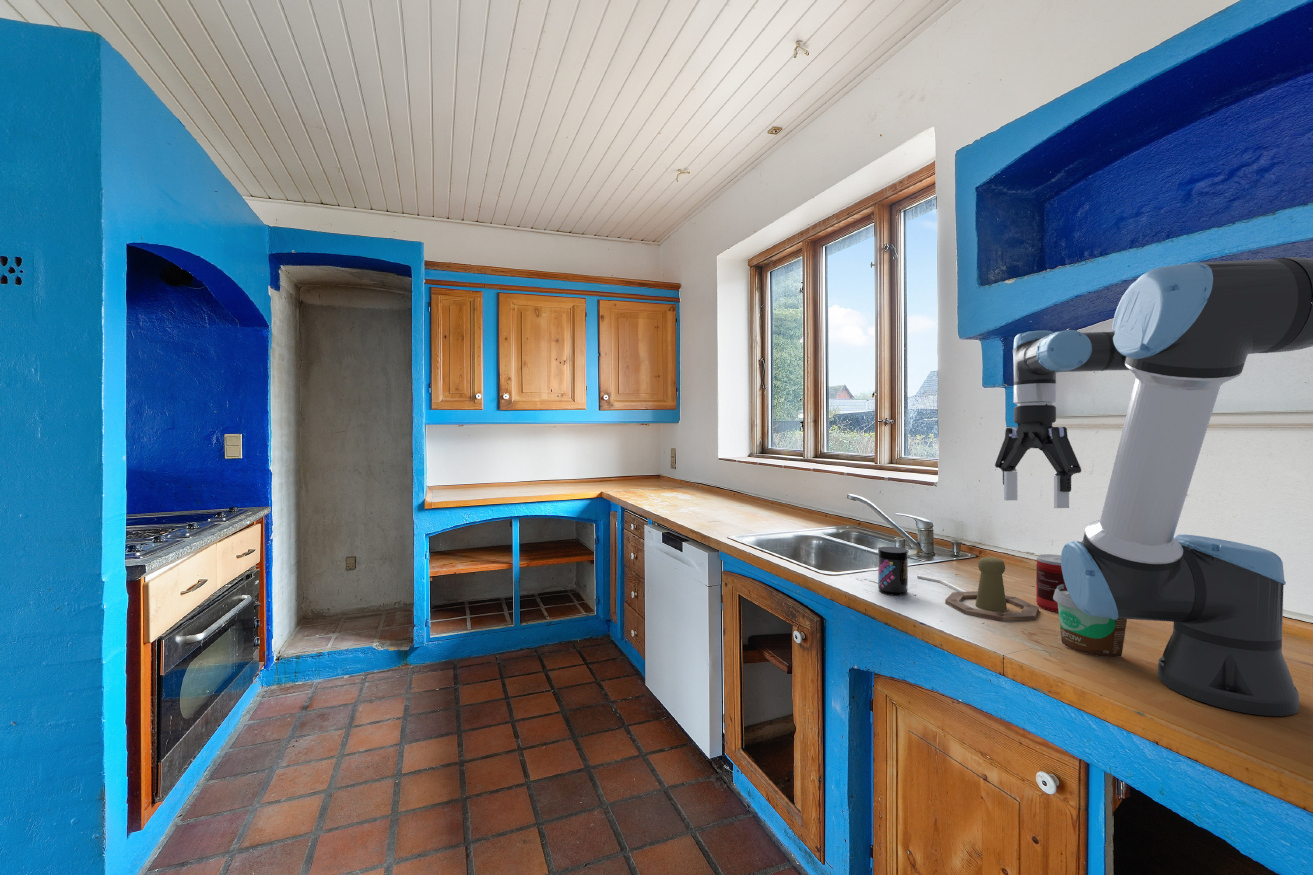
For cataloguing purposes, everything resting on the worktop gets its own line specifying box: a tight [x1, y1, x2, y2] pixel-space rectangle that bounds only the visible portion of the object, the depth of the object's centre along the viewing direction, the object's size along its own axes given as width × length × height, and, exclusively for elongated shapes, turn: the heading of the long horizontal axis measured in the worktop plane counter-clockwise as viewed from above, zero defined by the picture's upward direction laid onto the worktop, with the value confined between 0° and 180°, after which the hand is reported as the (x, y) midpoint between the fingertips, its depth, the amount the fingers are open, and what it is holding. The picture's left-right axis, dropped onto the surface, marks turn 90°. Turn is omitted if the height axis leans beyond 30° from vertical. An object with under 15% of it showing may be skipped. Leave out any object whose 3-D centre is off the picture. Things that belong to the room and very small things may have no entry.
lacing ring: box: [945, 590, 1040, 622], centre depth 125 cm, size 17×17×1 cm
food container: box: [1053, 584, 1128, 658], centre depth 102 cm, size 12×6×10 cm, turn 19°
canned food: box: [1035, 553, 1067, 613], centre depth 124 cm, size 8×8×11 cm
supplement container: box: [877, 545, 909, 596], centre depth 136 cm, size 7×7×10 cm
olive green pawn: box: [975, 556, 1008, 613], centre depth 124 cm, size 6×6×11 cm
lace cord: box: [916, 574, 967, 592], centre depth 141 cm, size 15×4×1 cm, turn 5°
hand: (1034, 504), depth 120 cm, fingers open, 13 cm apart
